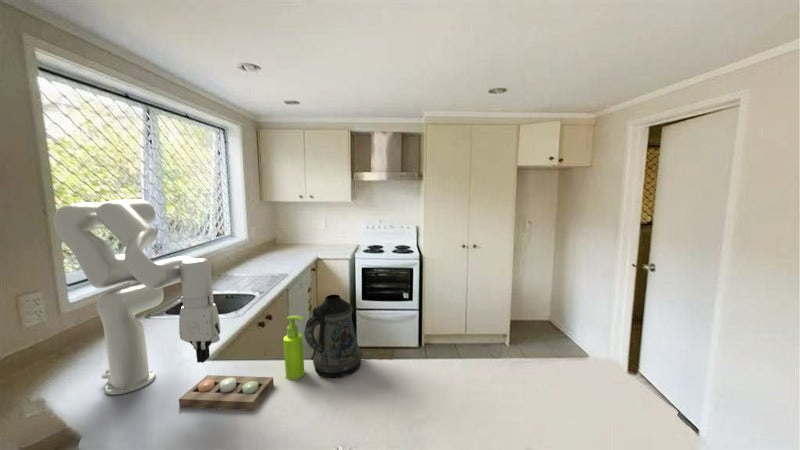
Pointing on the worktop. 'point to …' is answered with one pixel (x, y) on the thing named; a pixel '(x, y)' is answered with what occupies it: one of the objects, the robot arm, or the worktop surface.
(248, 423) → the worktop surface
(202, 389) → the button terracotta
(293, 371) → the soap dispenser
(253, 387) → the button sage
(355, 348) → the beer stein
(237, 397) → the button panel
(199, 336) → the robot arm
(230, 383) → the white dome
